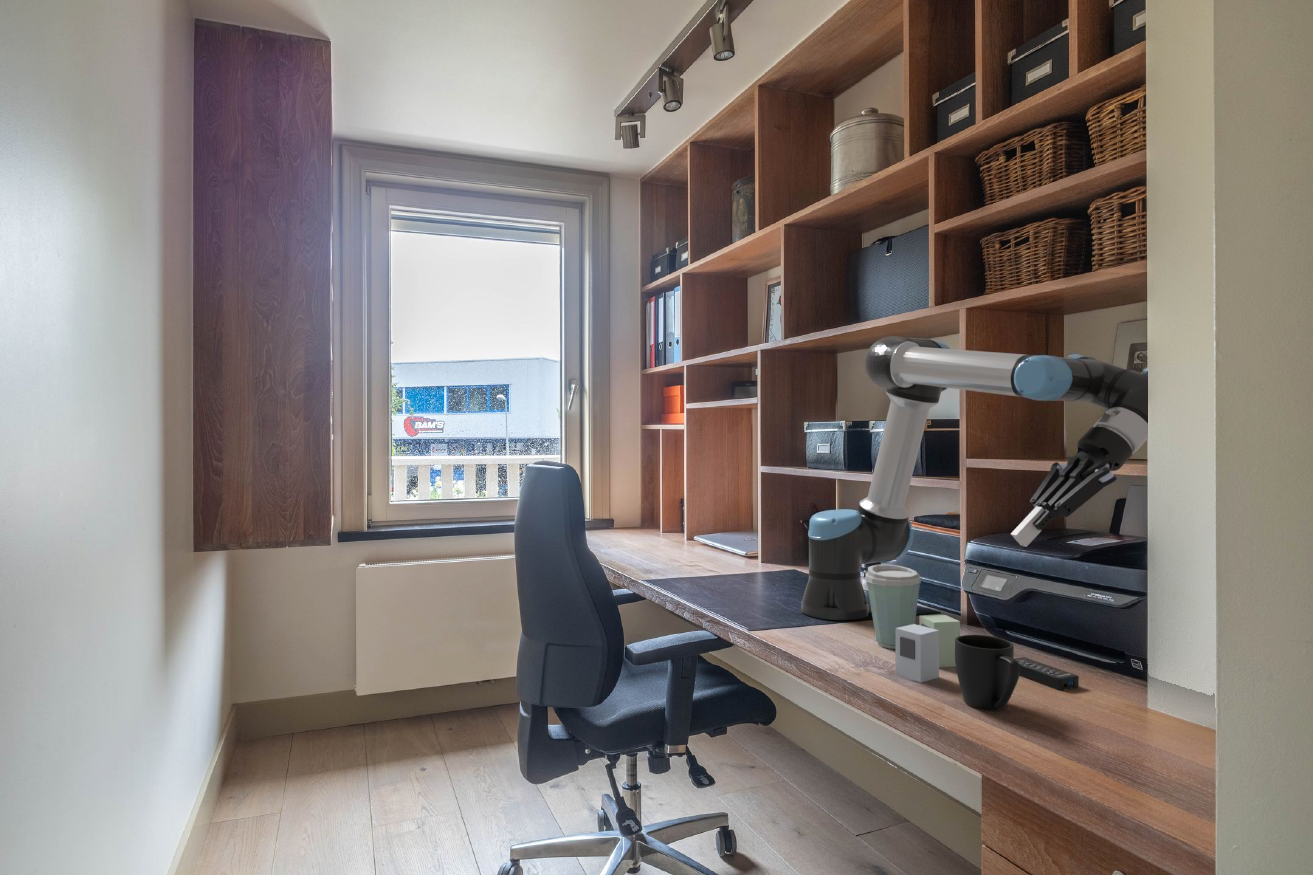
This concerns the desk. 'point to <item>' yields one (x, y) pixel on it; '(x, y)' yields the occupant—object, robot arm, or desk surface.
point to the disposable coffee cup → (892, 600)
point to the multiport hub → (1047, 675)
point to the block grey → (917, 653)
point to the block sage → (943, 636)
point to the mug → (986, 670)
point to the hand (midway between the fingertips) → (1018, 540)
